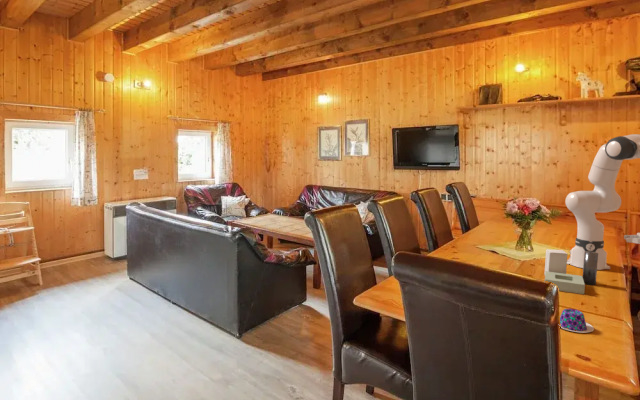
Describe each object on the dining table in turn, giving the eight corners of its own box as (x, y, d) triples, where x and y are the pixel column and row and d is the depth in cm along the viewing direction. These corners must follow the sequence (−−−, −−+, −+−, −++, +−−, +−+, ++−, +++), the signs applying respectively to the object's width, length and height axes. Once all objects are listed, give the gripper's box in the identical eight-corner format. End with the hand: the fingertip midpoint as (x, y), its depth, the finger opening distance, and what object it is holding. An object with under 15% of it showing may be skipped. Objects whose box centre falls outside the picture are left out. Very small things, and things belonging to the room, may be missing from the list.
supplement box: (566, 280, 177) (568, 253, 176) (547, 279, 179) (549, 252, 178) (561, 276, 184) (563, 249, 183) (543, 274, 186) (545, 248, 185)
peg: (581, 281, 177) (584, 250, 175) (595, 282, 174) (597, 252, 173) (582, 284, 173) (585, 253, 171) (596, 286, 170) (599, 254, 169)
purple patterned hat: (550, 328, 128) (551, 313, 127) (552, 316, 138) (553, 302, 137) (594, 338, 122) (596, 322, 121) (593, 324, 132) (594, 309, 131)
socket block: (544, 279, 179) (545, 271, 178) (581, 284, 172) (582, 275, 171) (544, 288, 166) (545, 279, 166) (584, 294, 160) (584, 284, 159)
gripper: (664, 230, 166) (623, 228, 174) (674, 236, 149) (628, 233, 157) (663, 245, 166) (622, 242, 174) (673, 252, 149) (627, 249, 157)
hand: (625, 238), depth 165 cm, fingers open, 8 cm apart
